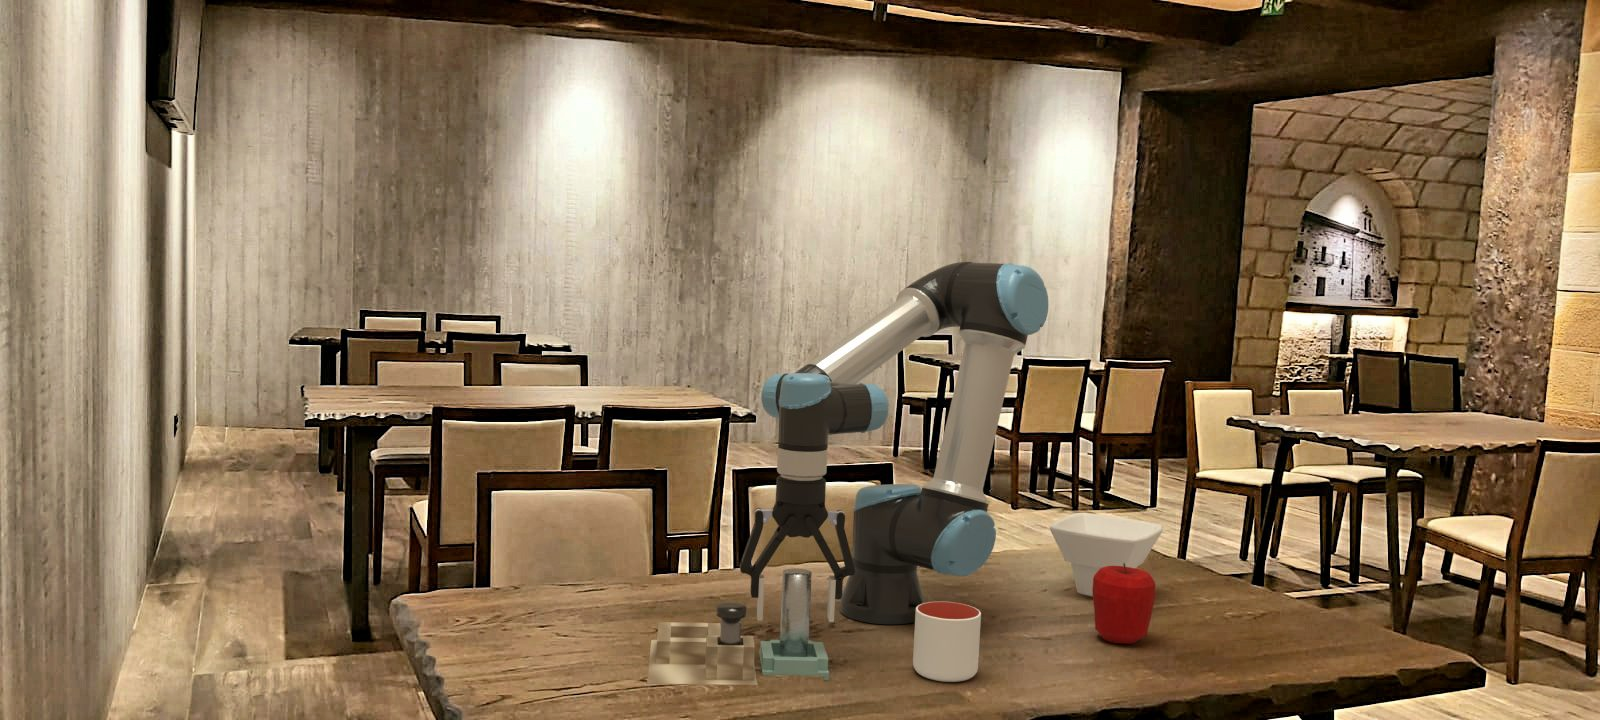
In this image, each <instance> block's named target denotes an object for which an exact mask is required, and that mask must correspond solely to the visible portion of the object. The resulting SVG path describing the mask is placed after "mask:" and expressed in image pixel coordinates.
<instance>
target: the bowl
mask: <svg viewBox="0 0 1600 720" xmlns="http://www.w3.org/2000/svg"><path fill="white" fill-rule="evenodd" d="M1163 528H1164V526H1163V525H1162V524H1159V523H1155V522H1154V523H1153V522H1149V521H1144V520H1138V519H1131V518H1128V517H1122V516H1121V517H1120V516H1114V515H1105V514H1098V513H1090V512H1089V513H1088V512H1077V513H1072V514H1068V515H1067V516H1064V517H1061V518H1058V519H1056V520H1055V521H1053V522H1052V523H1051V524H1050V526H1049V530H1050V532H1051V535H1052V537H1053V539H1054V541H1055V543H1056V545H1057V546H1058V549H1059V551H1060V553H1061V556H1063V558H1064V562H1066V563H1067V562H1068V563H1070V565H1071V569H1072V570H1071V571H1072V574H1073V578H1074V584H1075V588H1076V592H1077V593H1078V594H1081V595H1085V596H1089V597H1093V592H1092V588H1093V577H1094V575H1095V574H1096V573H1097V572H1098V570H1099V569H1100V568H1102V567H1106V566H1124V565H1123V564H1124V563H1125V567H1130V568H1136V569H1137V568H1138V567H1139V566H1140V565H1142V564H1144V562H1145V560H1146V559H1147V557H1148V555H1149V554H1150V552H1151V550H1152V549H1153V548H1154V546H1155V544H1156V543H1157V541H1158V540H1159V538H1160V536H1161V534H1162V533H1163V530H1164V529H1163Z"/></svg>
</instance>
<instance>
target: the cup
mask: <svg viewBox="0 0 1600 720" xmlns="http://www.w3.org/2000/svg"><path fill="white" fill-rule="evenodd" d="M981 620H982V612H981V610H980V609H978V608H976V607H974V606H971V605H968V604H965V603H960V602H955V601H953V602H952V601H928V602H925V603H923V604H920V605H918V606H917V607H916V613H915V622H914V635H913V636H914V637H913V638H914V639H913V654H912V656H913V657H912V665H913V668H914V670H915V672H916V673H918V675H920V676H922V677H924V678H926V679H930V680H932V681H938V682H944V683H957V682H959V683H960V682H964V681H967V680H970V679H972V678H973V677H975V676H976V674H977V672H978V669H979V658H980V657H979V653H980V639H981V623H982V622H981Z"/></svg>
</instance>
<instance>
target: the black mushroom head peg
mask: <svg viewBox="0 0 1600 720" xmlns="http://www.w3.org/2000/svg"><path fill="white" fill-rule="evenodd" d="M716 616H717V617H718V618H720V625H721V634H720V645H740V639H741V636H742V635H741V634H742V633H741V632H742V619H744V618H746V617H747V605H744V604H742V603H737V602H736V603H735V602H725V603H719V604H717V605H716Z"/></svg>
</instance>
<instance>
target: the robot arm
mask: <svg viewBox="0 0 1600 720" xmlns="http://www.w3.org/2000/svg"><path fill="white" fill-rule="evenodd" d="M1048 295H1049V294H1048V290H1047V287H1046V286H1045V283H1044V280H1043V278H1042V276H1041V275H1040V274H1039V273H1038V272H1037V271H1036V270H1034V269H1033V268H1031V267H1030V266H1027V265H1020V264H1014V263H1011V262H1007V263H993V262H992V263H991V262H987V263H986V262H985V263H984V262H972V261H960V262H959V261H958V262H954V263H950V264H946V265H944V266H941V267H939V268H936V270H933V271H931V272H929V273H927V274H925V275H924V276H921V277H920V278H919V279H917V280H915V281H914V282H912V283H911V284H908V286H906V287H905V288H904V289H903V288H902V290H901V291H900V292H899V293H898V294H897V297H896V299H895V302H893V303H892V304H891V305H889V306H888V307H886V308H885V309H883V310H882V311H881V312H879V313H878V314H876V315H875V316H874V317H872V318H871V319H869V320H868V321H866V322H865V323H864V324H862V325H861V326H859V327H858V328H857V329H855V330H854V331H852V332H851V333H850V334H848V335H847V336H845V337H844V338H843V339H841V340H840V341H838V342H837V343H836V344H834V345H832V346H831V347H830V348H829V349H827V350H825V351H824V352H822V353H821V354H819V355H818V356H817V357H815V358H813V360H811V361H810V362H808V363H807V364H806V365H804V366H803V367H801V368H800V369H798V370H797V371H795V372H793V373H788V372H787V373H786V372H784V373H777V374H776V373H775V374H773V375H772V376H770V377H769V378H767V380H766V381H765V382H764V384H763V386H762V389H761V394H760V395H761V396H760V397H761V403H762V407H763V409H764V411H765V412H766V414H768V415H769V416H770V417H772V418H775V419H778V442H777V443H778V444H777V446H778V447H777V461H776V463H777V465H776V471H777V473H778V474H779V475H778V476H777V477H776V479H775V480H776V483H775V488H776V489H775V502H774V506H773V507H772V509H762V508H760V507H756V508H755V509H754V523H753V526H752V529H751V531H750V533H749V534H750V535H749V538H748V539H747V543H746V545H745V549H744V552H743V555H742V557H741V560H740V563H739V569H740V573H742V574H745V575H748V576H750V589H749V590H750V597H751V598H752V599H754V598H755V599H756V601H757V602H756V603H757V604H756V619H757V621H758V622H762V621H763V618H764V598H765V597H764V595H765V592H764V591H765V576H764V573H763V571H764V569H765V568H766V566H768V564H769V562H770V560H771V559H772V558H773V556H774V554H775V553H776V552H777V550H778V548H779V547H780V545H781V543H782V542H783V541H784V540H785V539H786V537H789V538H797V537H800V538H801V537H802V538H808V539H809V538H810V537H813V538H814V540H815V542H816V543H817V545H818V547H819V549H820V551H821V553H822V555H823V557H824V558H825V561H826V562H827V564H828V565H829V567H830V569H831V571H832V573H833V575H828V588H827V589H828V590H827V591H828V592H827V610H826V612H827V613H826V614H827V615H826V617H827V620H828V622H829V623H834V622H835V608H836V607H835V606H836V603H835V602H836V600H840V601H839V602H840V605H839V607H840V608H839V611H840V612H841V614H842V615H843V616H845V617H847V618H849V619H852V620H855V621H859V622H863V623H869V624H876V625H905V624H910V623H911V624H912V623H915V613H916V607H917V606H918V605H920V604H923V603H926V602H925V601H926V600H925V598H924V595H923V590H922V586H921V582H920V580H919V575H918V567H920V568H923V569H928V570H931V571H933V572H936V573H937V574H941V575H947V576H948V575H949V576H950V575H951V576H955V577H961V578H962V577H967V576H970V575H973V574H975V573H976V572H977V571H978V570H979V569H980V568H982V567H983V566H984V565H985V563H987V561H988V560H989V557H990V556H991V554H992V552H993V550H994V547H995V543H996V538H997V529H996V528H995V525H996V524H995V521H994V518H993V517H992V516H991V515H990V514H989V513H988V512H987V511H988V509H989V504H990V502H989V500H988V498H987V496H986V495H985V494H984V487H985V481H986V478H987V477H986V476H987V474H988V468H989V465H990V460H991V456H992V451H993V446H994V442H995V439H996V435H997V430H998V426H999V420H1000V418H1001V417H1000V416H1001V412H1002V408H1003V403H1004V399H1005V397H1006V396H1005V395H1006V391H1007V386H1008V382H1009V378H1010V374H1011V369H1012V365H1013V361H1014V357H1015V355H1016V354H1018V353H1019V352H1021V351H1022V350H1024V349H1025V348H1026V344H1027V341H1028V337H1029V336H1031V335H1033V334H1036V333H1038V332H1039V331H1040V330H1041V328H1042V327H1044V325H1045V323H1046V321H1047V317H1048V315H1049V296H1048ZM956 327H957V328H959V331H958V334H959V336H960V337H961V340H962V341H963V343H964V348H963V351H962V356H961V360H960V365H959V369H958V373H957V377H956V382H955V386H954V389H953V394H952V398H951V402H950V407H949V411H948V415H947V419H946V424H945V428H944V432H943V435H942V441H941V444H940V449H939V454H938V457H937V461H936V466H935V470H934V474H933V478H932V479H931V480H930V481H928V482H927V483H925V484H922V486H921V487H920V486H919V485H917V484H909V483H898V484H897V483H894V484H893V483H892V484H891V483H890V484H876V485H875V484H874V485H868V486H864V487H861V488H860V489H859V490H857V492H856V495H855V502H854V508H853V524H852V525H853V526H852V527H853V528H852V529H853V530H852V553H851V549H850V546H849V542H848V538H847V534H846V530H845V529H846V528H845V524H846V523H845V522H846V514H845V513H844V510H843V509H837V510H836V511H834V510H827V508H826V490H827V489H826V488H827V487H826V486H827V480H826V479H825V477H824V476H825V475H826V474H827V468H828V467H827V464H828V445H829V444H828V443H829V436H830V435H839V434H841V435H842V434H854V433H861V434H864V433H866V432H872V431H876V430H878V429H880V428H881V427H882V426H884V424H886V421H887V419H888V416H889V410H890V409H889V406H890V405H889V399H888V396H887V395H886V393H885V391H884V390H883V389H882V388H881V387H880V386H879V385H878V384H877V385H876V384H873V383H863V382H861V381H862V380H864V379H865V378H866V377H868V376H869V375H870V374H872V373H874V372H875V371H876V370H877V369H879V368H880V367H881V366H883V365H884V364H886V363H887V362H888V361H889V360H891V359H892V358H893V357H895V356H896V355H898V354H899V353H900V352H901V351H903V350H905V349H906V348H907V347H909V346H910V345H911V344H913V343H914V342H915V341H917V340H918V339H920V338H921V337H924V338H927V337H931V336H933V335H934V334H936V333H937V332H939V331H940V330H944V329H947V328H956ZM771 518H772V519H774V521H775V522H776V524H777V525H778V526H777V528H776V529H775V531H774V533H773V534H772V536H771V538H770V539H769V541H768V542H767V544H766V545H765V547H764V549H763V550H762V552H761V553H760V554H759V556H758V557H757V559H756V560H755V562H754V564H753V565H752V562H753V558H754V554H755V551H756V550H757V546H758V544H759V540H760V537H761V535H762V532H763V528H764V525H766V524H768V523H769V520H770V519H771ZM828 519H829V521H830V523H831V525H832V526H833V527H834V529H835V533H836V536H837V540H838V545H839V548H840V552H841V556H842V560H843V562H844V563H843V564H844V566H841V567H840V565H839V563H838V562H837V559H836V558H835V556H834V553H833V552H832V551H831V549H830V546H829V545H828V543H827V541H826V540H825V538H824V536H823V534H822V532H821V530H820V527H822V526H823V524H824V523H825V521H827V520H828ZM846 577H848V578H847V581H846V583H845V585H844V589H843V584H844V583H843V582H844V579H845V578H846Z"/></svg>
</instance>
